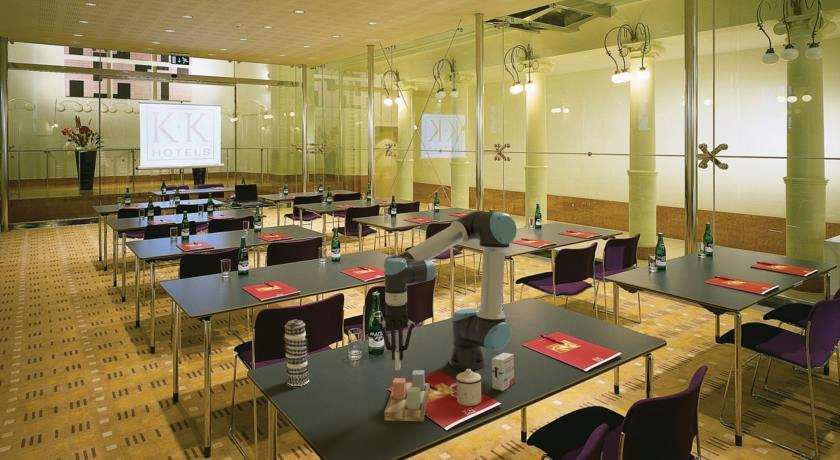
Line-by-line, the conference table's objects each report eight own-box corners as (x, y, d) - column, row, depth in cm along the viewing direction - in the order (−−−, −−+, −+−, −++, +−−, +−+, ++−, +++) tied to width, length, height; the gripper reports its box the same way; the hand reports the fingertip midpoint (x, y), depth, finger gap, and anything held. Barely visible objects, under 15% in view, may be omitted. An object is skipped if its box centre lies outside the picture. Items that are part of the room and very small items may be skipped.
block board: (429, 390, 209) (429, 383, 209) (423, 421, 186) (423, 412, 185) (395, 390, 211) (395, 382, 210) (384, 420, 187) (384, 411, 187)
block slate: (424, 386, 206) (424, 370, 206) (423, 390, 203) (423, 374, 202) (414, 386, 207) (413, 370, 206) (412, 390, 203) (412, 374, 202)
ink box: (503, 380, 216) (503, 351, 215) (514, 383, 213) (514, 354, 212) (491, 388, 210) (491, 357, 208) (502, 391, 207) (502, 360, 205)
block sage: (420, 404, 192) (420, 387, 191) (419, 409, 188) (418, 392, 187) (409, 404, 192) (408, 387, 191) (407, 409, 188) (406, 392, 187)
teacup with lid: (475, 393, 205) (475, 363, 204) (485, 404, 197) (485, 372, 195) (445, 398, 202) (444, 368, 200) (454, 409, 193) (453, 377, 192)
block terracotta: (406, 394, 200) (405, 378, 199) (404, 399, 196) (404, 382, 195) (395, 394, 200) (394, 378, 199) (393, 399, 196) (392, 382, 195)
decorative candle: (289, 378, 225) (285, 318, 222) (312, 377, 225) (309, 317, 221) (283, 387, 216) (279, 325, 212) (307, 387, 216) (303, 324, 212)
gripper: (375, 305, 190) (377, 372, 193) (413, 306, 189) (415, 373, 192) (379, 300, 198) (381, 364, 201) (416, 300, 196) (417, 365, 199)
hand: (397, 368), depth 196 cm, fingers closed
